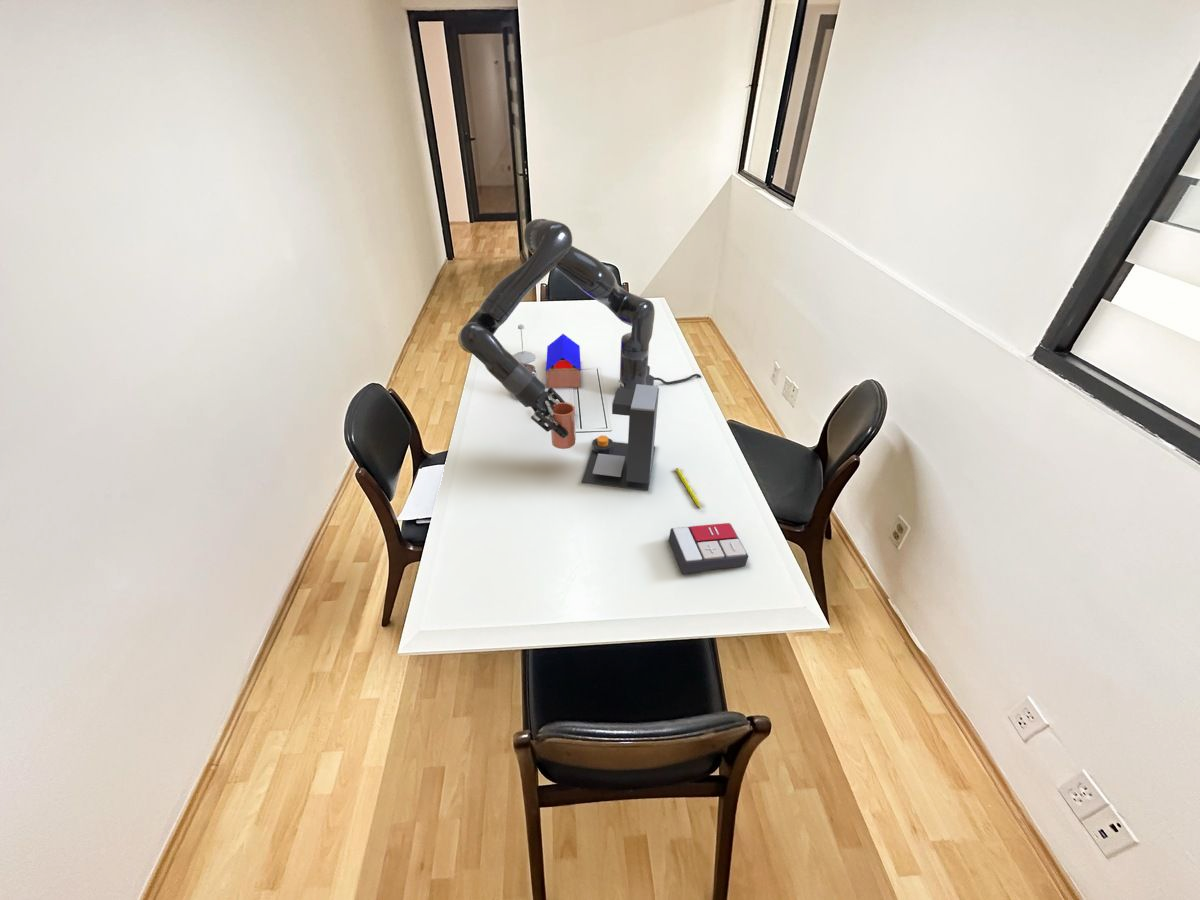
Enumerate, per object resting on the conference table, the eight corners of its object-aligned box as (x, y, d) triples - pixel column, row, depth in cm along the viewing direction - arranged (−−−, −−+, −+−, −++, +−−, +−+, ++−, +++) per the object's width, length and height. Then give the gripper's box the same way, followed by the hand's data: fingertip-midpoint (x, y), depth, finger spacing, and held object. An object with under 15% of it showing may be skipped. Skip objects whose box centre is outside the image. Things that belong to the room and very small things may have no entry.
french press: (517, 403, 174) (511, 333, 160) (506, 388, 183) (498, 320, 168) (545, 397, 178) (541, 327, 163) (532, 382, 186) (527, 314, 172)
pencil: (675, 471, 145) (675, 468, 145) (678, 470, 146) (679, 467, 145) (698, 510, 132) (699, 507, 132) (702, 509, 133) (703, 506, 132)
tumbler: (567, 432, 145) (566, 400, 139) (579, 444, 141) (579, 410, 135) (547, 440, 142) (545, 407, 136) (559, 451, 138) (558, 418, 132)
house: (546, 388, 183) (545, 357, 176) (548, 362, 199) (546, 333, 192) (581, 387, 183) (580, 357, 177) (579, 362, 200) (579, 333, 193)
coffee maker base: (581, 483, 141) (581, 475, 139) (594, 441, 157) (594, 434, 155) (648, 491, 138) (648, 483, 137) (655, 448, 154) (655, 440, 153)
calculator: (750, 554, 116) (685, 561, 113) (745, 567, 118) (682, 574, 115) (731, 520, 124) (670, 525, 122) (727, 533, 127) (668, 539, 124)
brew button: (596, 446, 151) (596, 441, 150) (598, 440, 153) (598, 434, 152) (607, 447, 150) (607, 442, 149) (609, 441, 153) (609, 435, 152)
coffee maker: (591, 477, 139) (591, 403, 126) (599, 451, 149) (600, 380, 135) (648, 484, 137) (654, 409, 124) (653, 457, 147) (659, 385, 133)
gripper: (524, 390, 126) (573, 436, 131) (540, 363, 137) (584, 407, 142) (504, 407, 129) (553, 451, 135) (522, 379, 141) (565, 421, 146)
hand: (569, 428), depth 139 cm, fingers closed on tumbler, 6 cm apart
